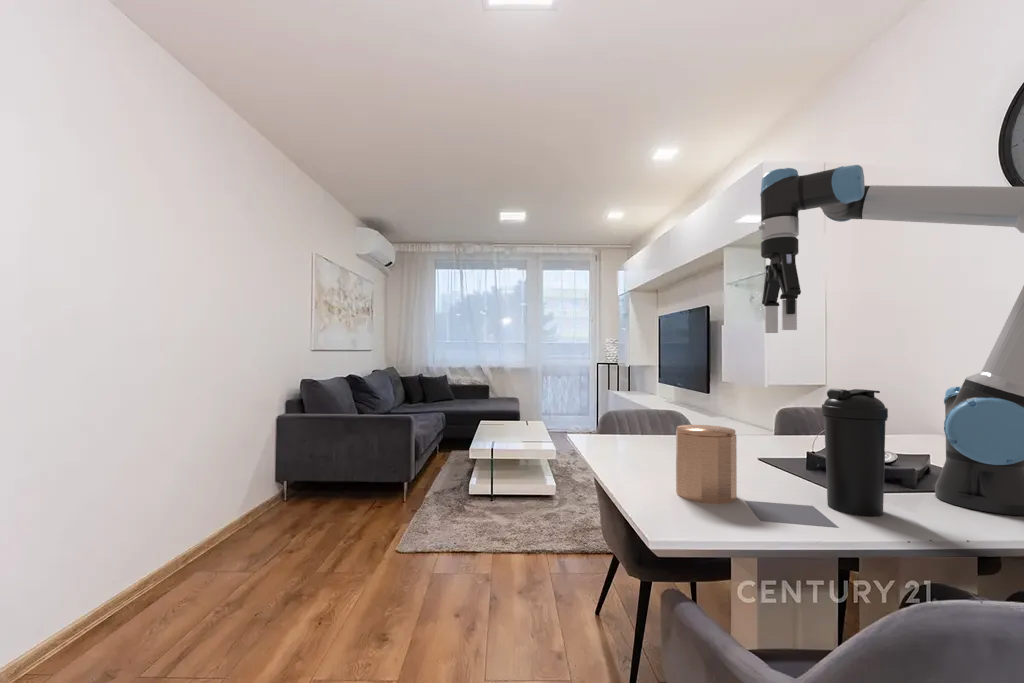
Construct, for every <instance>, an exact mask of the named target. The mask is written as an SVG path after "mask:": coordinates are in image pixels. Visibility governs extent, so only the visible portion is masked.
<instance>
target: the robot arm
mask: <svg viewBox="0 0 1024 683" xmlns="http://www.w3.org/2000/svg"><path fill="white" fill-rule="evenodd" d="M760 184H761V185H760V186H761V187H760V194H759V197H760V214H761V215H760V217H761V219H760V224H761V225H759V226H758V230H760V231H761V232H760V233H761V234H760V235H761V240H762V241H761V242H760V256H761V257H762V258H763V259H769V260H770V262H769V264H766V265H765V267H764V268H765V276H764V285H763V293H762V301H761V304H762V305H763V306H764V333H765V334H778V333H779V306H780V302H779V301H778V299H780V300H781V330H782V331H797V330H798V322H797V321H798V315H797V314H798V309H797V308H798V305H797V304H798V301H797V300H798V298H799V295H801V293H802V291H801V286H800V280H799V275H798V270H797V264H796V256H797V255H799V250H800V249H799V238H798V236H799V235H800V233H799V232H800V227H799V226H800V225H799V220H800V219H799V218H800V217H799V211H805V210H811V209H816V208H820V209H821V210H822V213H823V214H824V215H825V216H826V217H827V218H828V219H829V220H832V221H834V222H838V223H839V222H840V223H843V222H847V221H850V220H869V221H871V220H872V221H891V222H910V223H927V224H928V223H929V224H945V225H947V224H948V225H952V224H953V225H968V226H969V225H970V226H986V227H987V226H990V227H1007V228H1016V230H1018V231H1019V232H1020V233H1021V234H1024V186H989V185H988V186H975V185H971V186H969V185H968V186H967V185H966V186H965V185H962V186H961V185H879V184H878V185H876V184H875V185H873V184H871V185H865V173H864V168H863V167H862V166H861V165H859V164H853V165H847V166H838V167H836V168H833V169H831V168H830V169H827V170H821V171H818V172H813V173H810V174H809V173H808V174H804V175H799V172H798V170H797V169H796V168H792V167H785V168H777V169H773V170H770V171H768V172H766V173H765V174H764V175H763V176H762V178H761V183H760ZM780 291H781V294H780ZM779 295H780V296H779ZM944 394H945V395H944V398H943V404H944V407H945V409H944V410H945V413H944V414H945V416H944V418H945V419H944V423H943V432H944V435H945V461H944V464H943V466H942V468H941V471H940V473H939V475H938V478H937V480H936V483H935V486H934V489H935V490H934V493H935V494H934V496H935V497H936V498H937V499H938V500H941V501H942V502H945V503H949V504H951V505H955V506H957V507H958V506H959V507H963V508H967V509H972V510H977V511H981V512H989V513H992V514H993V513H994V514H1000V515H1001V514H1002V515H1011V516H1024V285H1023V286H1022V288H1021V289H1020V292H1019V294H1018V297H1017V298H1016V300H1015V302H1014V305H1013V306H1012V308H1011V311H1010V312H1009V314H1008V316H1007V318H1006V320H1005V322H1004V325H1003V327H1002V328H1001V330H1000V333H999V335H998V337H997V339H996V341H995V342H994V345H993V346H992V349H991V351H990V353H989V355H988V357H987V359H986V361H985V363H984V365H983V368H982V369H981V371H979V372H978V373H974V374H972V375H969V376H966V377H965V378H964V381H963V383H962V385H961V386H952V387H949V388H947V389H946V391H945V393H944Z"/></svg>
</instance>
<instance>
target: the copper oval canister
mask: <svg viewBox="0 0 1024 683" xmlns="http://www.w3.org/2000/svg"><path fill="white" fill-rule="evenodd" d="M675 434H676V435H675V441H676V442H675V453H676V454H675V492H676V494H677V496H679V497H681V498H683V499H685V500H688V501H693V502H698V503H701V504H717V505H720V504H730V503H733V502H735V501H736V500H737V496H738V495H737V494H738V493H737V483H738V482H737V477H738V476H737V472H738V471H737V466H738V465H737V461H738V460H737V434H736V429H734V428H731V427H724V426H720V425H708V424H682V425H678V426H676V430H675Z"/></svg>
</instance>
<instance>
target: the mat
mask: <svg viewBox="0 0 1024 683" xmlns="http://www.w3.org/2000/svg"><path fill="white" fill-rule="evenodd" d="M744 502H745V503H746V505H747V506H748V507H749V508H750V509H751V511H752V512H753V514H754V515H755V516H756V517H757V519H758V520H759V521H760V522H766V523H767V522H768V523H780V524H790V525H802V526H803V525H804V526H813V527H815V526H816V527H823V528H824V527H826V528H837V529H838V528H840V526H838V525H837V524H836V523H834V522H833V521H832V520H831V519H830V518H828V516H826V515H825V514H824V513H823V512H821V511H820V510H819V509H817V508H816V506H814V505H808V504H807V505H806V504H795V503H794V504H793V503H780V502H769V501H767V502H766V501H757V500H744Z"/></svg>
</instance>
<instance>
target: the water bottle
mask: <svg viewBox="0 0 1024 683" xmlns="http://www.w3.org/2000/svg"><path fill="white" fill-rule="evenodd" d="M875 394H881V392H880V390H875V389H874V390H871V389H860V388H858V389H857V388H855V389H848V390H847V389H844V388H843V389H842V388H841V389H840V388H829V389H827V392H826V396H827V398H826V400H824V403H823V404H821V414H822V417H823V422H824V423H823V424H824V449H825V471H826V474H825V475H826V495H827V496H826V497H827V499H826V501H827V507H828V508H829V509H831V510H833V511H835V512H839V513H843V514H846V515H852V516H855V517H856V516H857V517H865V518H867V517H868V518H877V517H882V516H883V515H884V500H885V498H884V497H885V496H884V494H885V489H884V488H885V473H886V472H885V469H886V468H885V467H886V465H885V463H886V461H885V460H886V422H887V421H888V418H889V412H888V411H889V408H888V407H886V406H885V405H886V404H884V403H883V401H882V400H880V399H879V398H877V397H876V396H875Z"/></svg>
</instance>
